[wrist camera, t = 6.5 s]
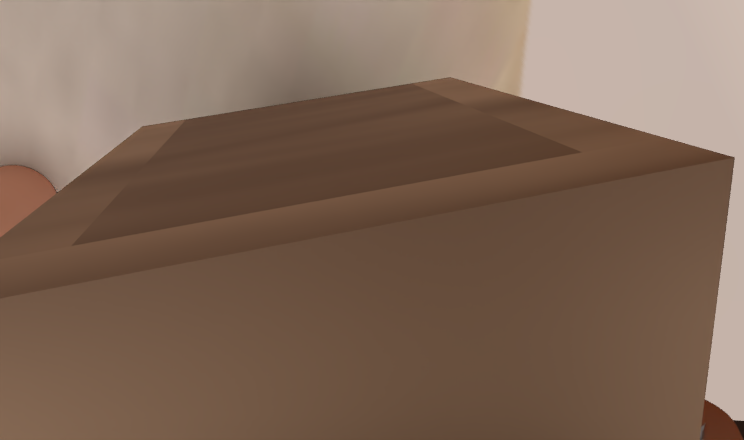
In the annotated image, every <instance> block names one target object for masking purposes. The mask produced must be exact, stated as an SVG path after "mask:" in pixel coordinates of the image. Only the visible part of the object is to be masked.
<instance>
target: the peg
mask: <svg viewBox="0 0 744 440" xmlns="http://www.w3.org/2000/svg"><path fill="white" fill-rule="evenodd" d="M55 194H57V193H56V191H55V189H54V187H53V186H52V184H51V183H50V182H49V181H48V180H47V179H46V178H45V177H44V176H43V175H41V174H40V173H38V172H37V171H35V170H33V169H30V168H27V167H24V166H18V165H7V166H2V167H0V237H1V236H3V235H4V234H5V233H7V232H8V231H9V230H10V229H12V228H13V227H14V226H15V225H17V224H18V223H19V222H21V221H22V220H23V219H24V218H26V217H27V216H28V215H30V214H31V213H32V212H33V211H35V210H36V209H37V208H39V207H40V206H41V205H42V204H44V203H45V202H46V201H48V200H49V199H50V198H51V197H53V196H54V195H55Z"/></svg>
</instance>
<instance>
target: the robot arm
mask: <svg viewBox="0 0 744 440" xmlns="http://www.w3.org/2000/svg"><path fill="white" fill-rule="evenodd" d="M700 440H744V421H735V420H732V419H731V418H730V416H729V415H728V414H727V413H725V412H724V411H723V410H722V409H720V408H719V407H717V406H716V405H714V404H713V403H711V402H709V401H707V400H704V408H703V416H702V425H701V433H700Z"/></svg>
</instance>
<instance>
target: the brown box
mask: <svg viewBox="0 0 744 440" xmlns="http://www.w3.org/2000/svg"><path fill="white" fill-rule="evenodd" d="M733 167H734V157H731V156H727V155H724V154H720V153H717V152H713V151H709V150H706V149H702V148H699V147H695V146H691V145H688V144H685V143H681V142H678V141H674V140H671V139H667V138H663V137H660V136H656V135H652V134H649V133H645V132H642V131H639V130H635V129H631V128H628V127H624V126H621V125H617V124H613V123H610V122H607V121H603V120H600V119H596V118H592V117H589V116H585V115H582V114H578V113H574V112H571V111H568V110H564V109H560V108H557V107H553V106H550V105H546V104H543V103H539V102H535V101H532V100H529V99H525V98H521V97H518V96H514V95H511V94H507V93H504V92H500V91H497V90H493V89H489V88H486V87H482V86H479V85H475V84H472V83H468V82H465V81H461V80H458V79H454V78H443V79H437V80H431V81H425V82H418V83H412V84H406V85H399V86H393V87H387V88H381V89H374V90H368V91H362V92H356V93H349V94H343V95H337V96H331V97H324V98H318V99H312V100H306V101H299V102H293V103H287V104H280V105H274V106H268V107H262V108H255V109H249V110H243V111H237V112H230V113H224V114H218V115H212V116H205V117H199V118H193V119H187V120H180V121H174V122H168V123H161V124H155V125H149V126H143V127H141V128H140V129H139V130H137V131H136V132H135V133H133V134H132V135H131V136H130V137H128V138H127V139H126V140H125V141H123V142H122V143H121V144H119V145H118V146H117V147H116V148H114V149H113V150H112V151H110V152H109V153H108V154H107V155H105V156H104V157H103V158H101V159H100V160H99V161H98V162H96V163H95V164H94V165H92V166H91V167H90V168H89V169H87V170H86V171H85V172H83V173H82V174H81V175H80V176H78V177H77V178H76V179H74V180H73V181H72V182H71V183H69V184H68V185H67V186H66V187H64V188H63V189H62V190H60V191H59V192H58V193H57V194H55V195H54V196H53V197H51V198H50V199H49V200H48V201H46V202H45V203H44V204H42V205H41V206H40V207H39V208H37V209H36V210H35V211H33V212H32V213H31V214H30V215H28V216H27V217H26V218H24V219H23V220H22V221H21V222H19V223H18V224H17V225H15V226H14V227H13V228H12V229H10V230H9V231H8V232H7V233H5V234H4V235H3V236H1V237H0V440H700V433H701V425H702V416H703V408H704V400H705V392H706V384H707V376H708V368H709V360H710V352H711V344H712V336H713V328H714V320H715V312H716V304H717V295H718V287H719V279H720V272H721V264H722V255H723V248H724V240H725V231H726V223H727V215H728V207H729V199H730V191H731V183H732V175H733Z"/></svg>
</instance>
